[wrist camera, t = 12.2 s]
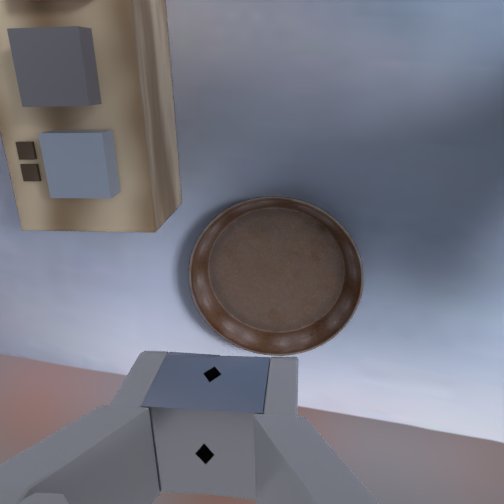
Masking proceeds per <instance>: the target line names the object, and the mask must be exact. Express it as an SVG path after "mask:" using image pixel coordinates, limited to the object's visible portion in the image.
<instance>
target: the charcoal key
mask: <svg viewBox="0 0 504 504" xmlns="http://www.w3.org/2000/svg"><path fill="white" fill-rule="evenodd" d="M7 32H8V37H9V42H10V47H11V52H12V57H13V62H14V67H15V72H16V77H17V82H18V87H19V92H20V97H21V103H22V107H56V106H93V105H98V104H102V102H101V95H100V88H99V80H98V73H97V66H96V58H95V51H94V44H93V37H92V29H91V28H86V27H80V26H66V27H37V28H8V29H7Z"/></svg>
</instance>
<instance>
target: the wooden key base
mask: <svg viewBox="0 0 504 504" xmlns="http://www.w3.org/2000/svg"><path fill="white" fill-rule="evenodd" d="M66 26H80V27H86V28H91V29H92V37H93V44H94V51H95V58H96V66H97V73H98V80H99V88H100V95H101V102H102V104H98V105H93V106H56V107H22V103H21V97H20V92H19V87H18V82H17V77H16V72H15V67H14V62H13V57H12V52H11V47H10V42H9V37H8V32H7V29H8V28H37V27H66ZM112 129H113V136H114V144H115V152H116V159H117V167H118V174H119V182H120V190H121V192H120V193H119V194H117V195H116V196H114V197H113V198H111V199H105V198H51V197H50V192H49V187H48V182H47V176H46V171H45V166H44V161H43V155H42V150H41V145H40V140H39V134H38V133H42V132H46V131H50V130H112ZM0 132H1V137H2V141H3V146H4V150H5V155H6V159H7V164H8V169H9V173H10V178H11V182H12V187H13V191H14V196H15V200H16V205H17V209H18V214H19V218H20V223H21V227H22V230H46V231H104V232H156V231H157V230H158V229H159V228H160V227H161V226H162V224H163V223H164V222H165V221H166V220H167V219H168V218H169V217H170V216H171V215H172V214H173V212H174V211H175V210H176V209H177V208H178V207H179V206H180V205H181V204H182V197H181V185H180V173H179V160H178V148H177V136H176V123H175V111H174V99H173V86H172V74H171V61H170V49H169V37H168V24H167V12H166V0H51V1H25V0H0Z"/></svg>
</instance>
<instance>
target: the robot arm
mask: <svg viewBox="0 0 504 504" xmlns="http://www.w3.org/2000/svg"><path fill="white" fill-rule="evenodd" d="M297 405H298V358H297V357H271V358H270V357H243V356H220V355H210V354H195V353H180V352H170V353H169V352H165V351H144V352H142V353H140V355H139V356H138V358H137V360H136V361H135V363H134V365H133V366H132V368H131V370H130V372H129V373H128V375H127V377H126V379H125V380H124V382H123V383H122V385H121V387H120V389H119V390H118V392H117V394H116V395H115V397H114V399H113V401H112V402H111V404H110V405H101V406H99V407H98V408H96V409H94V410H93V411H91V412H89V413H87V414H86V415H84V416H82V417H81V418H79V419H77V420H75V421H74V422H72V423H70V424H69V425H67V426H66V427H64V428H62V429H60V430H59V431H57V432H55V433H53V434H52V435H50V436H48V437H47V438H45V439H43V440H42V441H40V442H38V443H36V444H35V445H33V446H31V447H30V448H28V449H26V450H25V451H23V452H21V453H19V454H18V455H16V456H14V457H13V458H11V459H9V460H8V461H6V462H4V463H3V464H1V465H0V504H152V503H153V502H154V501H155V500H156V499H157V498H158V496H159V495H160V492H172V493H192V494H210V495H219V496H228V497H237V498H247V499H256V503H257V504H380V503H379V502H378V501H377V500H376V499H375V498H374V497H373V495H372V494H371V493H370V492H369V490H368V489H367V488H366V487H365V486H364V485H363V484H362V482H361V481H360V480H359V479H358V478H357V477H356V475H355V474H354V473H353V472H352V471H351V470H350V468H349V467H348V466H347V465H346V464H345V463H344V462H343V460H342V459H341V458H340V457H339V456H338V455H337V453H336V452H335V451H334V450H333V449H332V448H331V446H330V445H329V444H328V443H327V442H326V441H325V439H324V438H323V437H322V436H321V435H320V434H319V433H318V431H317V430H316V429H315V428H314V427H313V426H312V424H311V423H310V422H309V421H308V420H307V419H306V418H305V417H298V416H297Z"/></svg>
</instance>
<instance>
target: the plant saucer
mask: <svg viewBox="0 0 504 504" xmlns="http://www.w3.org/2000/svg"><path fill="white" fill-rule="evenodd" d="M189 285H190V291H191V294H192V298H193V300H194V303H195V305H196V307H197V309H198V311H199V313H200V315H201V316H202V318H203V319H204V320H205V322H206V323H207V324H208V325H209V326H210V327H211V328H212V329H213V330H214V331H215V332H216V333H217V334H218V335H220V336H221V337H222V338H223V339H225V340H227V341H228V342H230V343H231V344H233V345H235V346H237V347H240V348H242V349H245V350H248V351H250V352H254V353H258V354H264V355H274V356H284V355H293V354H299V353H303V352H306V351H309V350H312V349H315V348H317V347H319V346H321V345H323V344H325V343H326V342H328V341H329V340H331V339H332V338H334V337H335V336H336V335H337V334H338V333H339V332H340V331H342V330H343V328H344V327H345V326H346V325H347V324H348V322H349V321H350V319H351V318H352V317H353V315H354V313H355V311H356V309H357V307H358V305H359V302H360V299H361V295H362V290H363V267H362V261H361V258H360V255H359V252H358V249H357V247H356V245H355V243H354V241H353V240H352V238H351V236H350V235H349V233H348V232H347V231H346V230H345V228H344V227H343V226H342V225H341V224H340V223H339V222H338V221H337V220H336V219H334V218H333V217H332V216H331V215H329V214H328V213H326V212H325V211H323V210H322V209H320V208H318V207H316V206H314V205H312V204H310V203H307V202H304V201H301V200H298V199H293V198H288V197H275V196H271V197H260V198H254V199H250V200H246V201H243V202H241V203H238V204H236V205H233V206H231V207H229V208H228V209H226V210H224V211H223V212H222V213H220V214H219V215H217V216H216V217H215V218H214V219H213V220H212V221H211V222H210V223H209V224H208V225H207V226H206V227H205V229H204V230H203V231H202V233H201V234H200V236H199V238H198V239H197V241H196V243H195V245H194V248H193V251H192V254H191V257H190V262H189Z"/></svg>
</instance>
